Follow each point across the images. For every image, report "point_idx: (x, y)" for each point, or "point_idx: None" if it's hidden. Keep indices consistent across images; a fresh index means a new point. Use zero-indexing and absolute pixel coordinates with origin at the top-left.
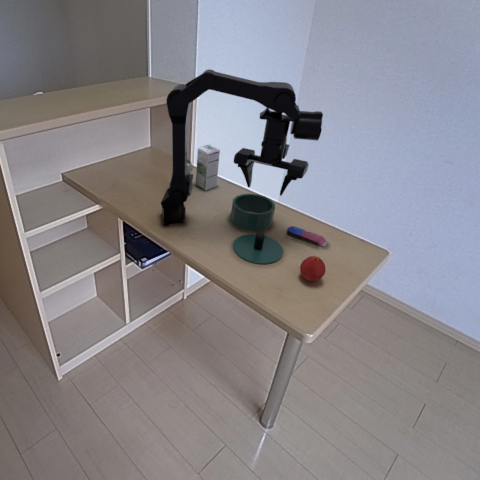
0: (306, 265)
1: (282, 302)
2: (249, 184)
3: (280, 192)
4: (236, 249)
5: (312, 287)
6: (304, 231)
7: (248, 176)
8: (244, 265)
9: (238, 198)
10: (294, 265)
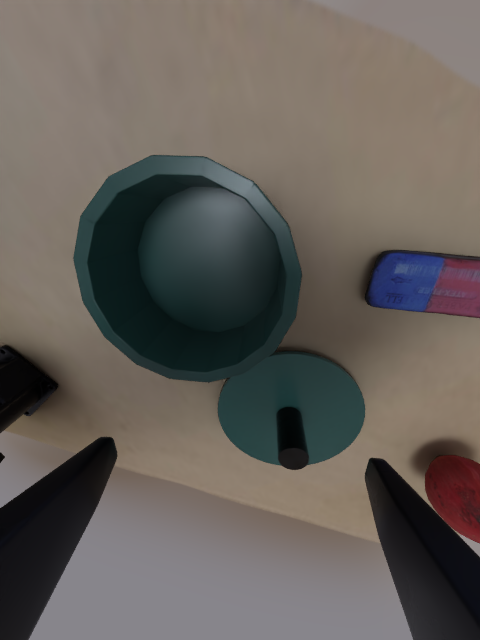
0: (455, 530)
1: None
2: (101, 491)
3: (378, 525)
4: (239, 442)
5: None
6: (443, 273)
7: (31, 630)
8: None
9: (93, 260)
10: (399, 422)
